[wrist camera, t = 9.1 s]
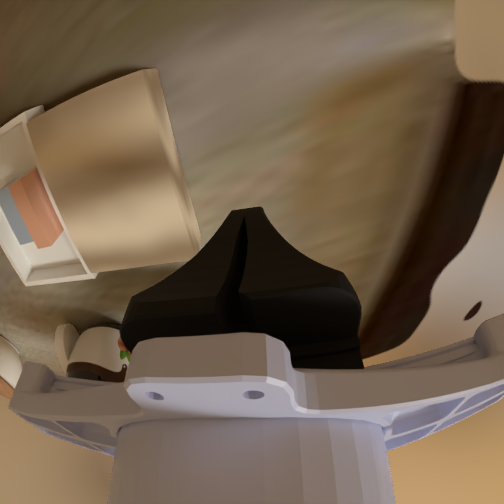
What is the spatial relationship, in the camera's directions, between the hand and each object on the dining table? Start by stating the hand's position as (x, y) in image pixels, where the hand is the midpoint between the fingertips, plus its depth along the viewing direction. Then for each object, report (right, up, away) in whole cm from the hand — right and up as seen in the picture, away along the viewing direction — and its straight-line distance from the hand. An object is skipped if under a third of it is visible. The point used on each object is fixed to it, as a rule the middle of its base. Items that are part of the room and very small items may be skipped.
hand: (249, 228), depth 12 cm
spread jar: (-19, -12, +21) cm, 31 cm away
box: (-21, +4, +9) cm, 23 cm away
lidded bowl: (-48, -19, +26) cm, 58 cm away
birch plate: (-10, +5, +8) cm, 14 cm away
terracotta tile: (-16, +3, +6) cm, 18 cm away
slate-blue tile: (-21, +2, +7) cm, 22 cm away
